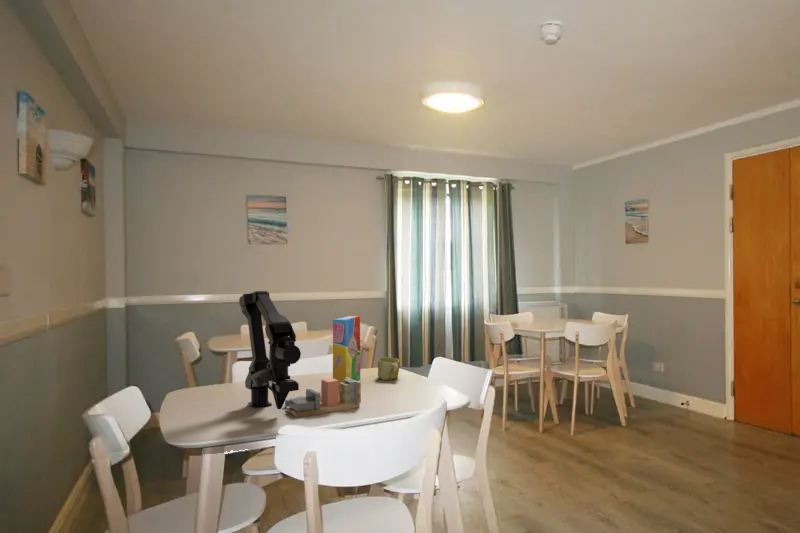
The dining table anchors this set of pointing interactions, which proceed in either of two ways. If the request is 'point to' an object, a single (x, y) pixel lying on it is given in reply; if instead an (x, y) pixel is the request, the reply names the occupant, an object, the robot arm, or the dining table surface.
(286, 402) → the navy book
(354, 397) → the wooden toy block set
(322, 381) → the salmon orange block
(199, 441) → the dining table surface
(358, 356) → the game box
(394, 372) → the mug
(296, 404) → the bookend
